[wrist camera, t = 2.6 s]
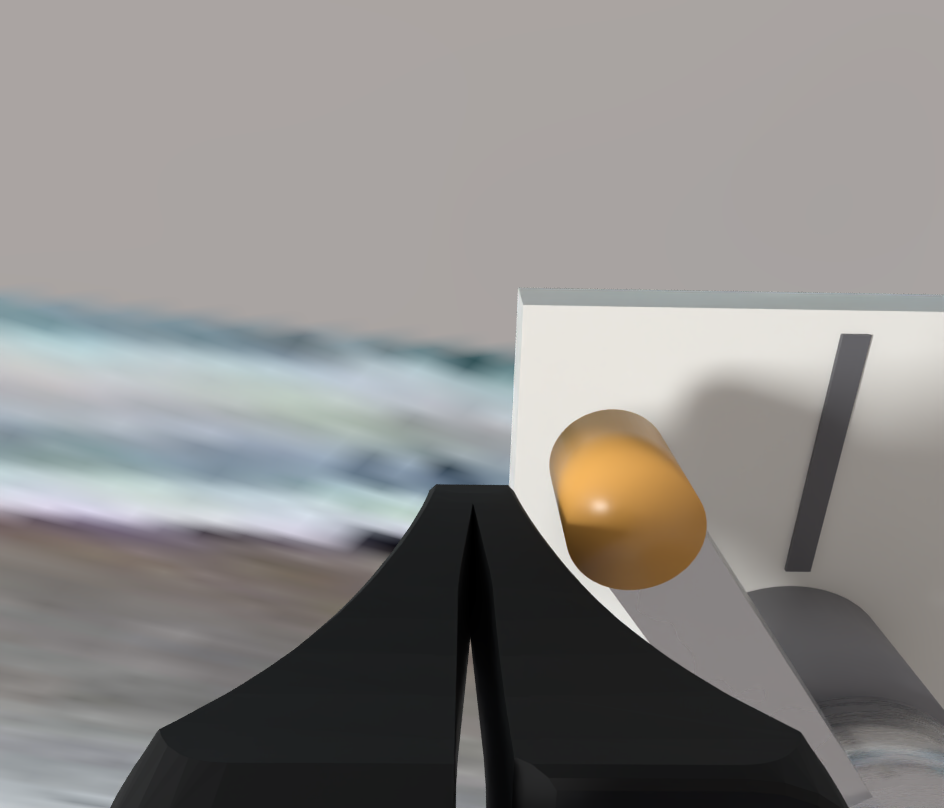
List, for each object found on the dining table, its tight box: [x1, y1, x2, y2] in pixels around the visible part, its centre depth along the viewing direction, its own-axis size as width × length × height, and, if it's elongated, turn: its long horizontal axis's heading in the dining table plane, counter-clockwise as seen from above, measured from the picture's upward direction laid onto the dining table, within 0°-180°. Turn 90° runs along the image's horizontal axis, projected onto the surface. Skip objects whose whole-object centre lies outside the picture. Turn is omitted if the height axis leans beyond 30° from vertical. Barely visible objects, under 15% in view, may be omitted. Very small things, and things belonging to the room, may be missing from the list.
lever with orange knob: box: [549, 409, 944, 808], centre depth 13 cm, size 14×6×2 cm, turn 34°
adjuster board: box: [509, 288, 944, 726], centre depth 17 cm, size 16×14×4 cm
